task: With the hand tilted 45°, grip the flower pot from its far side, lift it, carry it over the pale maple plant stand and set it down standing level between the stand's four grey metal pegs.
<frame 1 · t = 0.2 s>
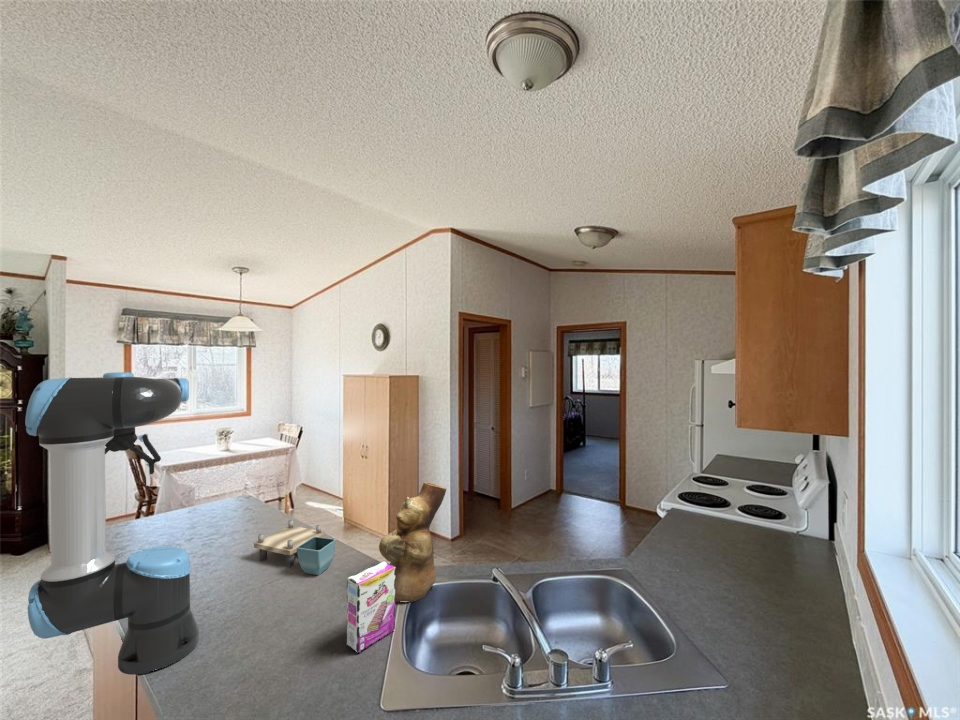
hand: (120, 488, 131), 28 cm above the countertop, tool pointing down, fingers open, 13 cm apart
plant stand: (290, 554, 146), on the countertop
candy bar box: (372, 639, 102), on the countertop
flower pot: (316, 571, 135), on the countertop
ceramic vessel: (416, 585, 126), on the countertop
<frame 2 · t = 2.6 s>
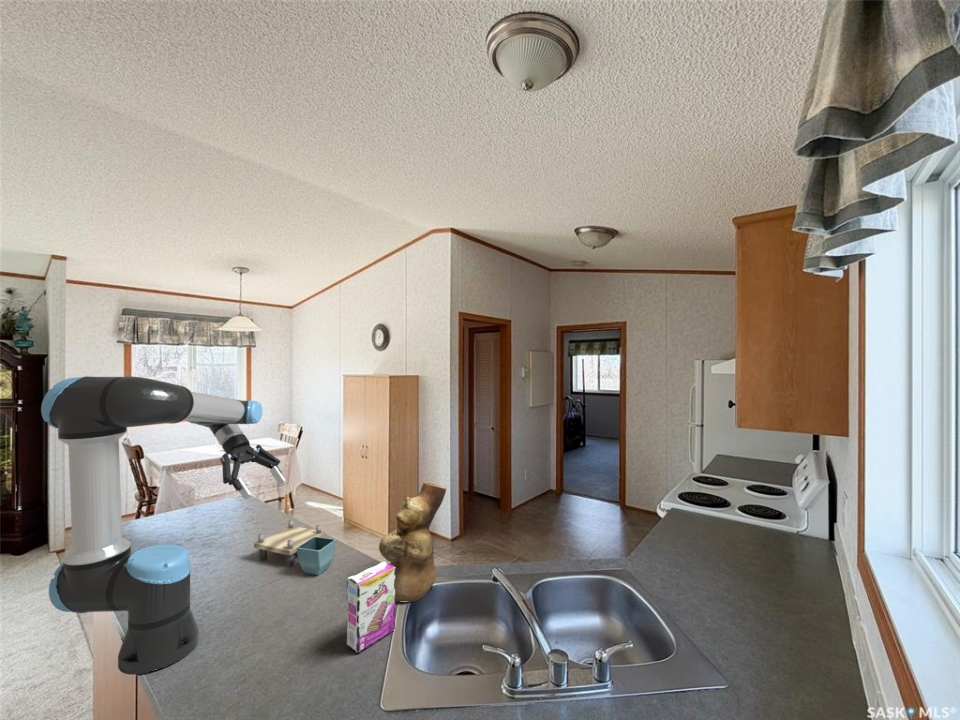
hand: (266, 489, 137), 25 cm above the countertop, tool tilted 45°, fingers open, 13 cm apart
nothing on the countertop moved.
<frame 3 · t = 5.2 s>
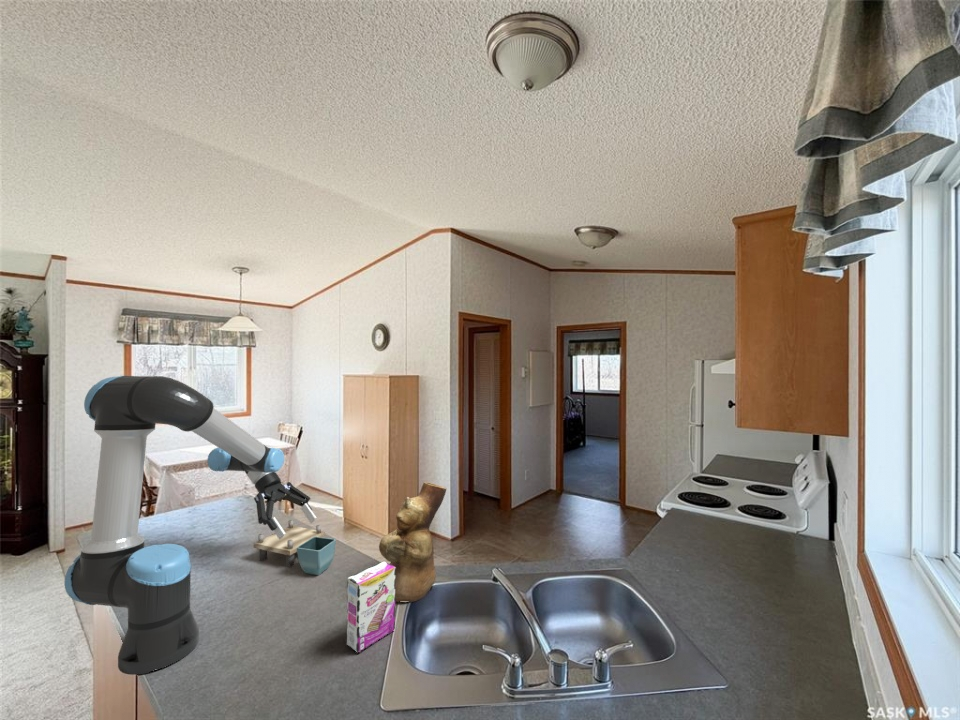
hand: (299, 528, 138), 12 cm above the countertop, tool tilted 45°, fingers open, 13 cm apart
nothing on the countertop moved.
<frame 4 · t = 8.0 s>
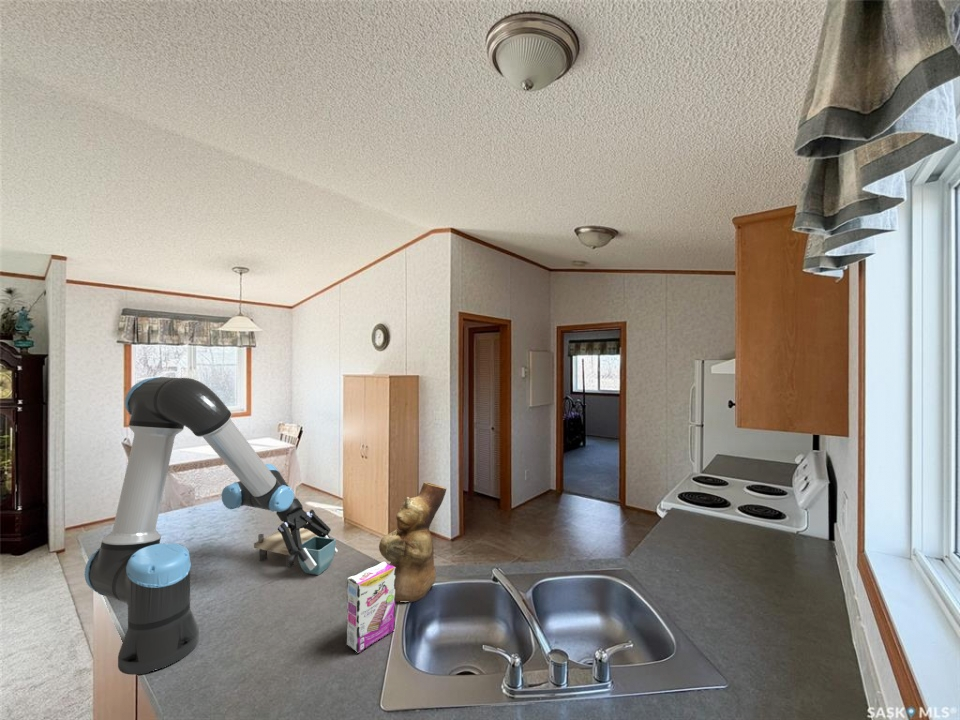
hand: (324, 560, 133), 4 cm above the countertop, tool tilted 45°, fingers closed on flower pot, 9 cm apart
flower pot: (316, 571, 135), on the countertop, touching gripper
everything else where it was.
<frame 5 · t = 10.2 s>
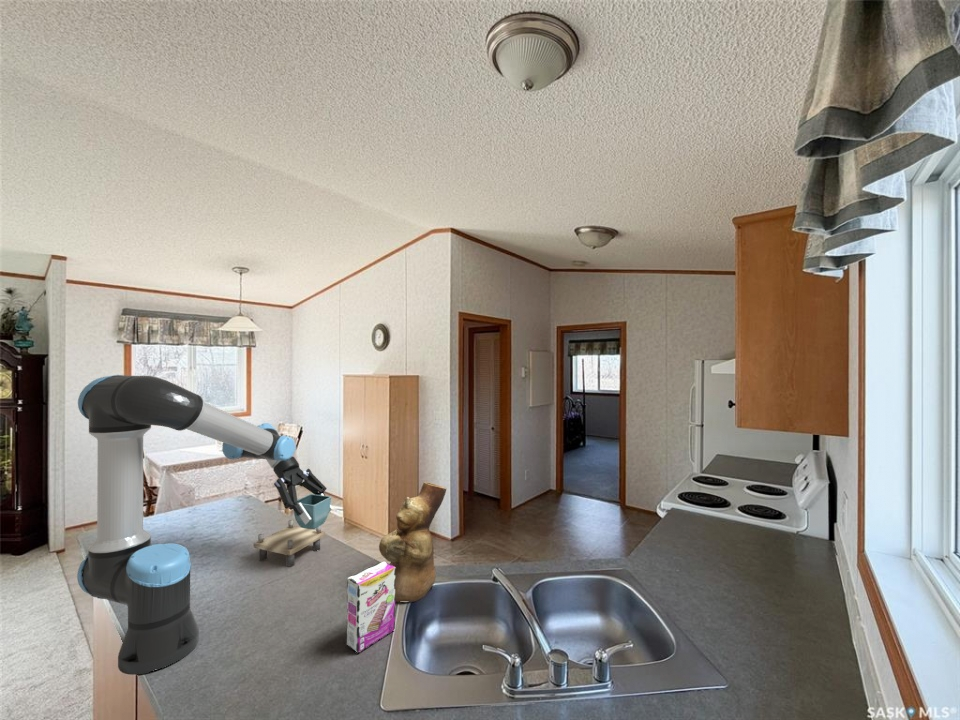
hand: (319, 516, 136), 17 cm above the countertop, tool tilted 45°, fingers closed on flower pot, 9 cm apart
flower pot: (312, 526, 138), point 13 cm above the countertop, touching gripper
everything else where it was.
when the fingers open (11 cm above the countertop, at t = 12.7 s): flower pot drops 1 cm, resting on plant stand.
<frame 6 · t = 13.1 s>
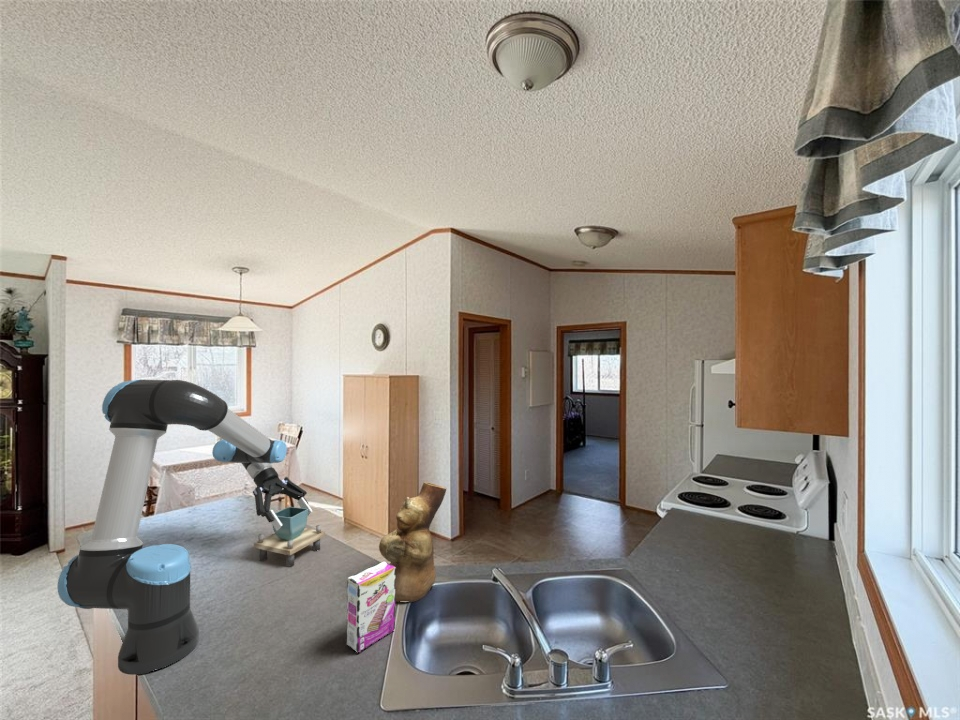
hand: (295, 520, 145), 12 cm above the countertop, tool tilted 45°, fingers open, 13 cm apart
flower pot: (290, 537, 146), point 6 cm above the countertop, touching plant stand
everything else where it was.
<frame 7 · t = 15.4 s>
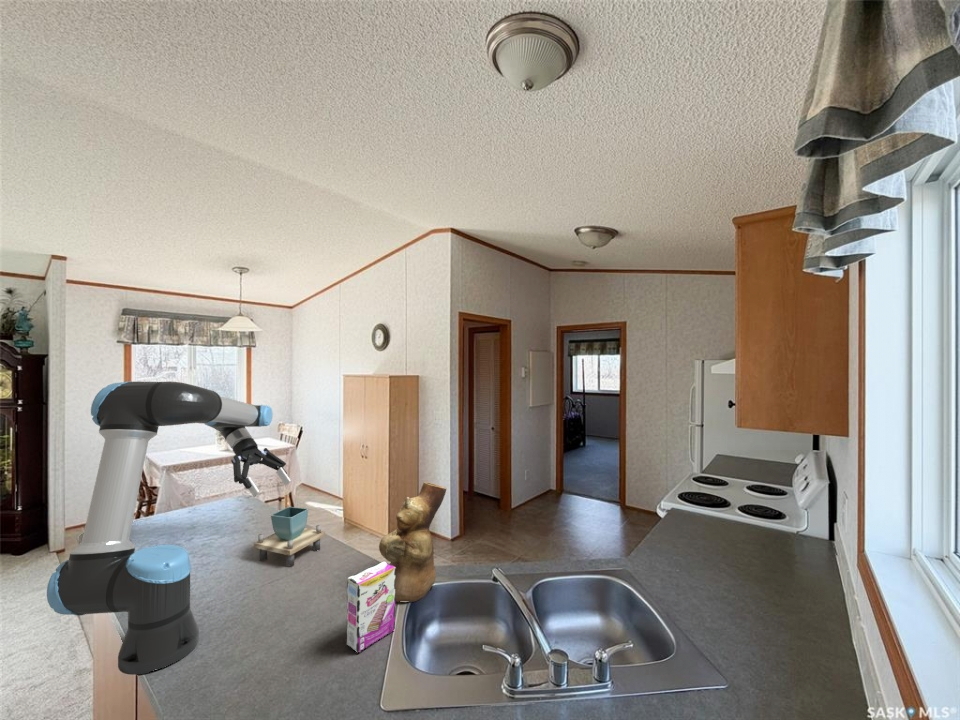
hand: (273, 488, 148), 22 cm above the countertop, tool tilted 45°, fingers open, 13 cm apart
nothing on the countertop moved.
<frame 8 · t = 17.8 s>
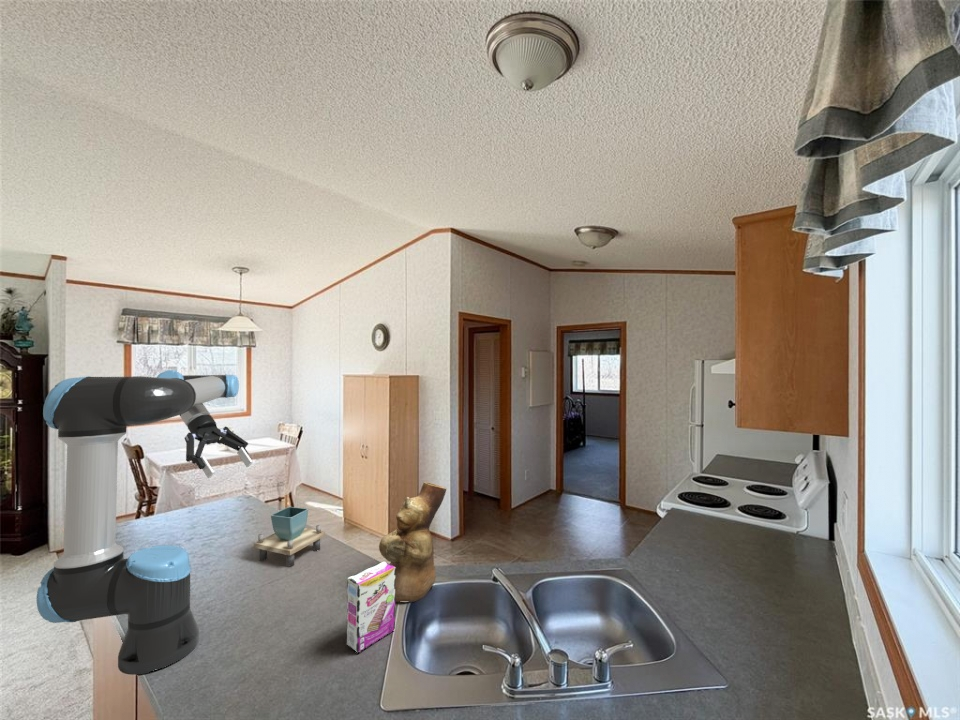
hand: (231, 469, 135), 33 cm above the countertop, tool tilted 45°, fingers open, 13 cm apart
nothing on the countertop moved.
at the end: flower pot inside the target area on the plant stand (0.2 cm from its centre), point 5.8 cm above the plant stand's base; flower pot tilted 0°; the gripper is holding nothing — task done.
